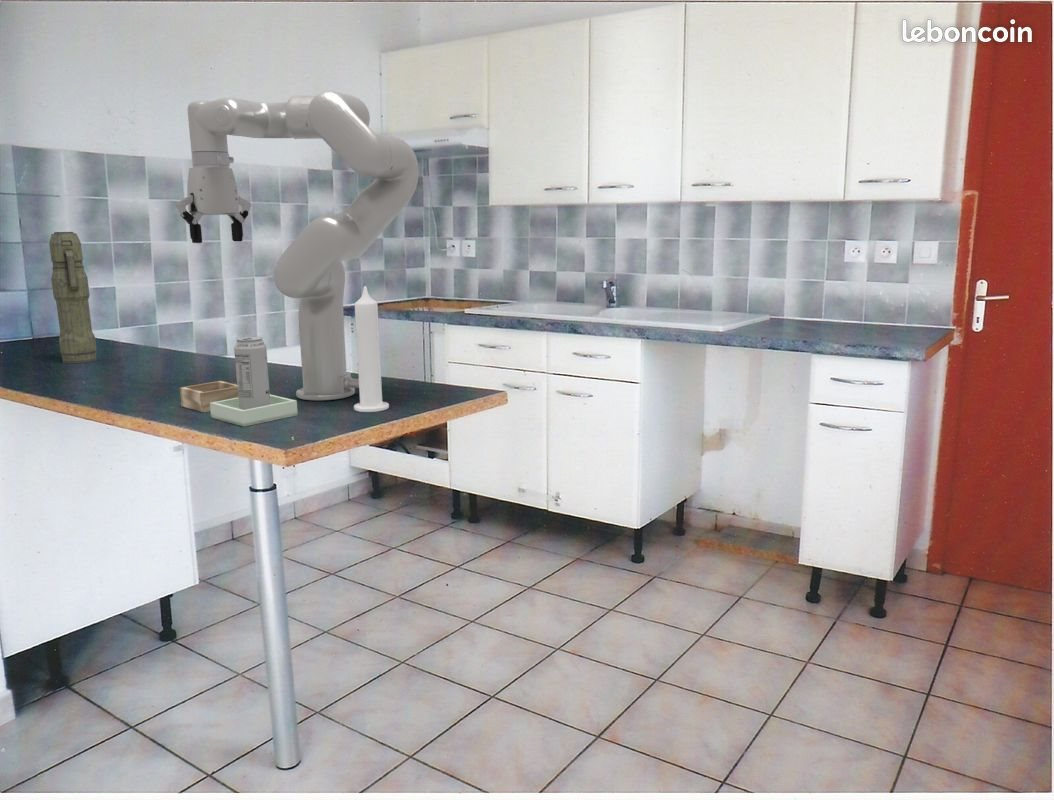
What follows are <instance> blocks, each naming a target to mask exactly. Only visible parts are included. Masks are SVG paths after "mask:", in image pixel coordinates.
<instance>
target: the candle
mask: <svg viewBox="0 0 1054 800" xmlns="http://www.w3.org/2000/svg"><path fill="white" fill-rule="evenodd" d="M362 290H363V291H362V295H361V296H360V298H359V299H358V300H357V301H356V302H354V317H355V320H354V321H355V336H356V337H355V339H356V354H357V357H356V358H357V368H358V369H357V372H358V379H359V388H358V389H359V402H358V403H355V404H354V405H353V410H354V411H356V412H359V413H376V412H377V413H378V412H382V411H386V410H388V409H389V408H390V404H389V403H388V402H386V401H383V393H382V392H383V390H382V387H383V386H382V371H381V370H382V369H381V368H382V367H381V351H380V350H381V348H380V347H381V346H380V329H379V326H380V325H379V312H378V311H379V309H378V306H379V305H378V302H377V300H375V299H374V298H372V297H371V296H370V294H369V292H368V291H369V290H368V287H367V286H366V285H364V286H363V289H362Z"/></svg>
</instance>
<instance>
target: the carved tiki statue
mask: <svg viewBox="0 0 1054 800" xmlns="http://www.w3.org/2000/svg"><path fill="white" fill-rule="evenodd" d="M49 253H50V258H51V263H52V267H51V268H52V274H51V277H50V278H51V279H50V280H51V285H52V286H51V287H52V294H53V295H52V296H53V299H54V301H55V302H56V303H55V304H56V310H57V311H56V312H57V318H58V326H59V338H58V343H59V350H60V351H59V353H60V354H61V358H62V360H61V361H62V362H61V363H63V364H82V363H91V362H92V363H93V362H95V361H97V360H98V357H97V344H96V342H97V341H96V336H95V334H94V332H93V328H92V327H93V326H92V319H91V312H90V311H91V309H90V303H89V299H90V288H89V287H90V286H89V279H88V276H87V274H86V271H85V267H84V265H83V261H84V259H83V250H82V243H81V240H80V238H79V236H78V234H77V233H75V232H74V231H57V232H56V231H55V232H53V233H51V234H50V239H49Z"/></svg>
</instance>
